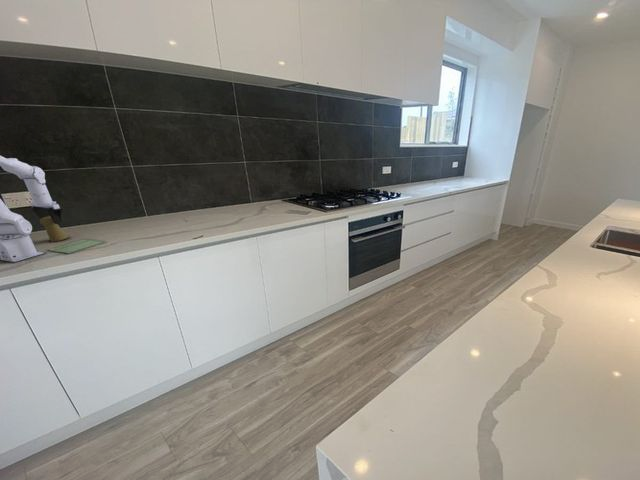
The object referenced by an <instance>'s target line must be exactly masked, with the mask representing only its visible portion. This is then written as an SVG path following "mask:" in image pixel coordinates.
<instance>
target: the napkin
mask: <svg viewBox="0 0 640 480" xmlns="http://www.w3.org/2000/svg"><path fill="white" fill-rule="evenodd" d="M100 244H104V241H99V240H93V239H92V240H91V239H87V238H84V239H83V238H82V239H80V240H76V241H74V242H70V243H67V244H62V245H60V246H56V247H53V248H49V249H47V251H49V252H55V253H62V254H68V255H69V254H72V253H76V252H78V251H82V250H84V249H87V248H90V247H94V246H97V245H100Z"/></svg>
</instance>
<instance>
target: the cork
mask: <svg viewBox="0 0 640 480" xmlns="http://www.w3.org/2000/svg"><path fill="white" fill-rule="evenodd" d="M48 216H49V215H48ZM39 224H41V225H42V226H44V229H45V231H46V233H47V236H48V238H49V241H50V242H52V243H53V242H60V241H63V240H65V239H67V238H68V235H67V234H66V232H65V231H64V230H63V229H62V228H61V227H60V226H59V224H55V223H54V222H53V220H52V218H51V217H50V216H49V217H44V218H41V219H40V218H39Z"/></svg>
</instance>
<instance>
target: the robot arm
mask: <svg viewBox="0 0 640 480" xmlns="http://www.w3.org/2000/svg"><path fill="white" fill-rule="evenodd" d="M0 167H1V168H2V170H3V171H5V172H6V173H7V172H8V173H9V174H10V173H11V174H14V175H16V176H17V177H18V179H20V180H23V182H24V184H25V187H26V188H27V190H28V192H29V195H30V197H31V199H32V201H31V202H29V205H30V207H31V208H29V210H30V211H31V212H33V213H34V214H35V215H36V216H37V217H38V218H39V220H40V219H41V218H44V217H49V216H50V217H51V218H52V220H53V222H54V223H55V224H58V225H59V224H62V214H63V211H64V209H63V207H60V205H59V203H57V201H53V199H52V197H51V195H50V192H49V190H48V187H47V185H46V182H47V181H46V179H45V178H46V173H45V171H44V170H43V169H42V168H41V167H39V166H36V165H29V164H28V163H26V162H22V161H20V160H19V159H18V158H15V157H9V158H6V157H4V156H2V155H0ZM32 231H33V226H32V224H31V222H30V221H29V220H27V219H25V218H24V216H23V215H21V214H19V213H16V212H13V211H11V210H10V208H9V207H8V206H7V205H6V204H5V203H4V201H3V200H2V199H1V198H0V261H6V262H11V263H17V262H19V261H23V260H26V259H30V258H34V257H37V256H41V255H43V254H44V252H42V251H37V249H36V246H35V244H34V242H33V240H32V237H31V236H30V235H31V233H32Z"/></svg>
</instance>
